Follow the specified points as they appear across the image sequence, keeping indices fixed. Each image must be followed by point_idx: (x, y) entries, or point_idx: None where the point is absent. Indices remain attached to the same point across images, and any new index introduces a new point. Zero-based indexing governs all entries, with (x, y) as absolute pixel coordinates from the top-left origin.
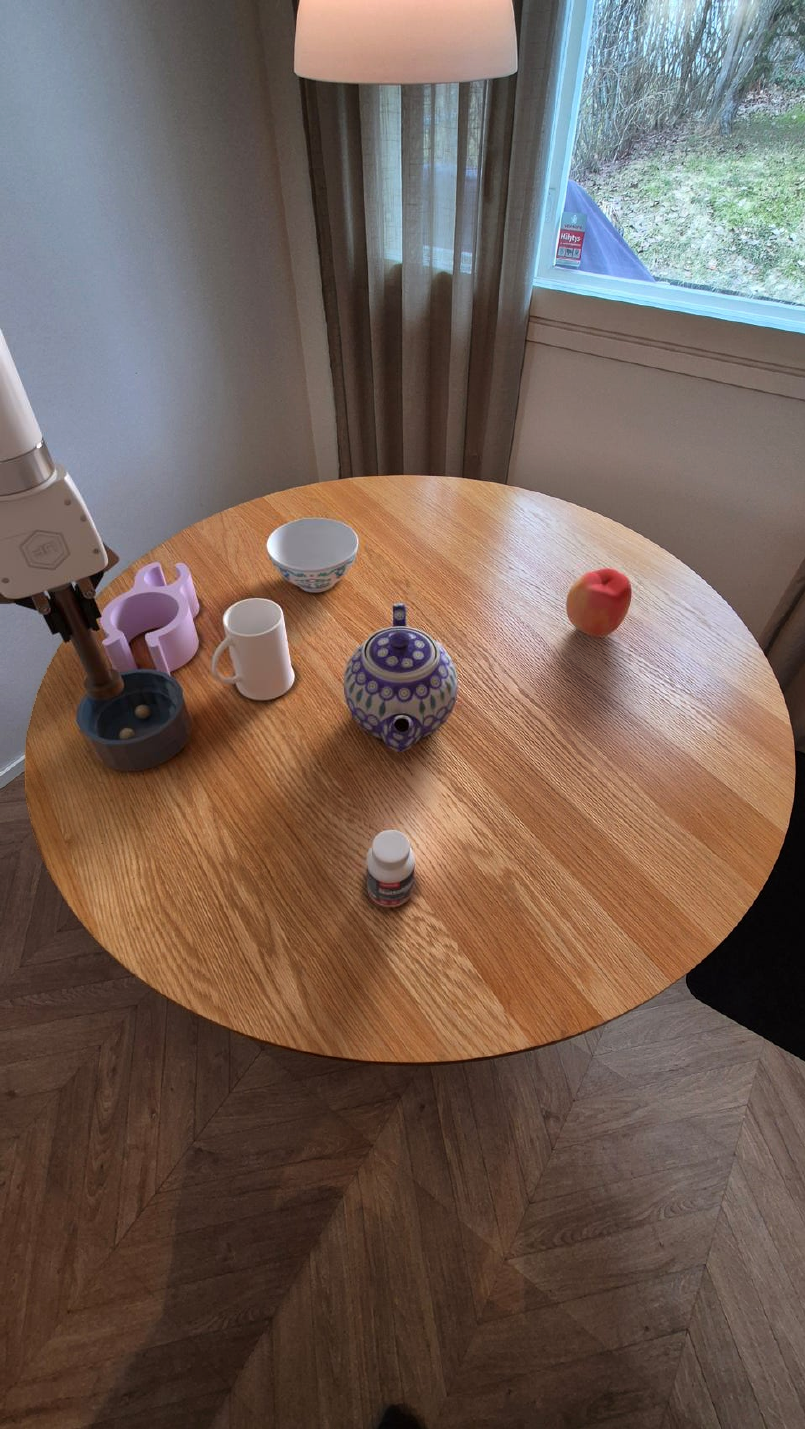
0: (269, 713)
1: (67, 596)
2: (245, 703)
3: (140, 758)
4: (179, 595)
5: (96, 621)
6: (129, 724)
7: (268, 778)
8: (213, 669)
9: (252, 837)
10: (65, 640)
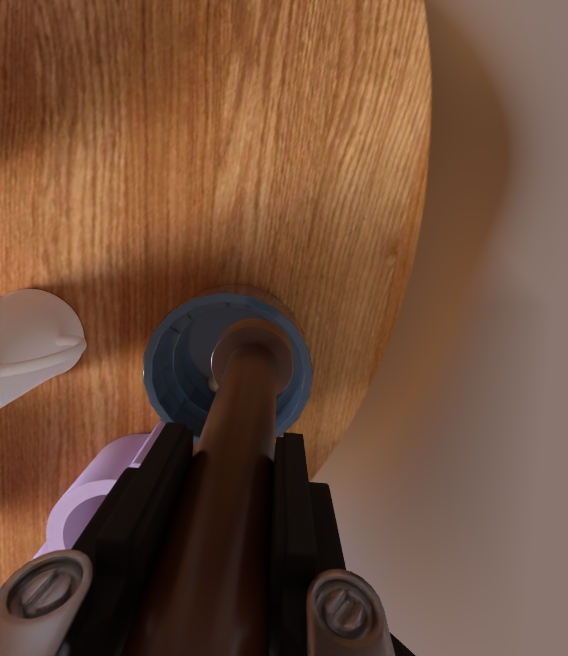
0: (65, 269)
1: (176, 634)
2: (88, 311)
3: (262, 294)
4: (52, 544)
5: (154, 445)
6: None
7: (126, 155)
8: (73, 351)
9: (198, 71)
10: (298, 437)
